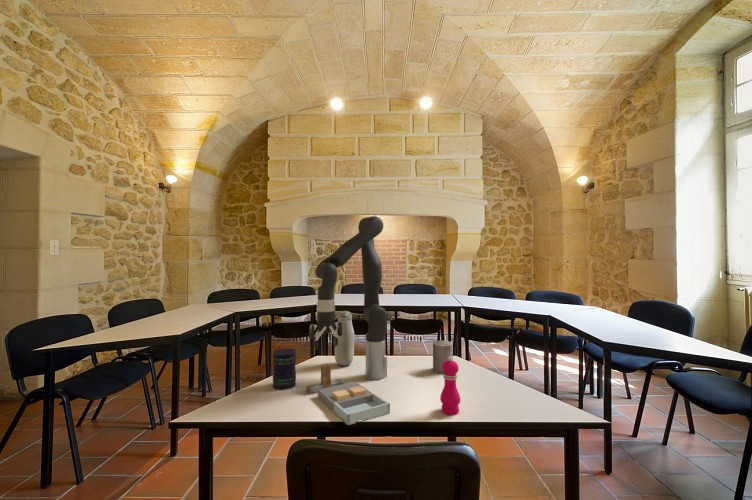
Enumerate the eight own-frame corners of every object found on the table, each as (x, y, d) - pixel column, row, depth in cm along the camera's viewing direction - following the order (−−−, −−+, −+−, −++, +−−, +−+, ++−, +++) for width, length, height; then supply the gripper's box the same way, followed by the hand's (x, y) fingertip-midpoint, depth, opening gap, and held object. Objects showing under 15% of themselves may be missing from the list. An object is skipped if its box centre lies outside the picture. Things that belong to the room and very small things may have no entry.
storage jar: (278, 391, 145) (279, 356, 145) (268, 385, 152) (269, 351, 152) (300, 385, 151) (300, 351, 151) (289, 379, 159) (289, 347, 159)
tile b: (344, 393, 136) (344, 389, 136) (350, 397, 131) (350, 393, 131) (332, 396, 133) (332, 392, 133) (338, 400, 129) (338, 396, 129)
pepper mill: (456, 417, 122) (456, 360, 122) (437, 412, 126) (437, 357, 126) (463, 409, 128) (462, 355, 128) (444, 405, 132) (444, 352, 132)
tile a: (360, 389, 139) (360, 385, 139) (366, 394, 135) (366, 390, 135) (348, 392, 137) (348, 388, 137) (354, 396, 132) (354, 392, 132)
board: (355, 388, 148) (355, 381, 148) (374, 402, 135) (374, 394, 135) (317, 396, 139) (317, 389, 139) (334, 412, 126) (334, 404, 126)
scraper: (340, 384, 154) (340, 360, 154) (344, 387, 150) (344, 363, 150) (306, 391, 145) (306, 366, 145) (309, 395, 142) (309, 369, 142)
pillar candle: (432, 366, 177) (432, 337, 177) (452, 367, 176) (451, 338, 176) (433, 373, 167) (433, 342, 167) (453, 374, 166) (453, 343, 166)
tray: (374, 402, 135) (374, 393, 135) (389, 413, 125) (389, 403, 125) (334, 412, 126) (334, 402, 126) (347, 425, 116) (347, 414, 116)
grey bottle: (332, 367, 176) (332, 312, 176) (338, 361, 186) (338, 309, 186) (351, 368, 174) (351, 312, 174) (355, 362, 184) (356, 309, 185)
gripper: (337, 307, 155) (337, 343, 155) (307, 309, 148) (306, 347, 147) (344, 309, 149) (344, 347, 148) (313, 312, 141) (313, 352, 141)
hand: (325, 347), depth 148 cm, fingers open, 8 cm apart
